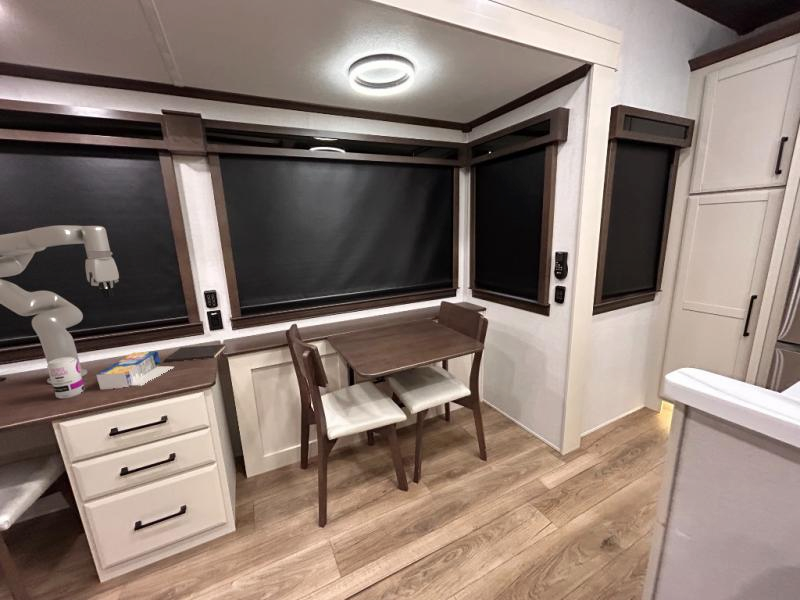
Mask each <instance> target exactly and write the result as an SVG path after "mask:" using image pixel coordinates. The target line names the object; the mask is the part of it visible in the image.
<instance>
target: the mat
mask: <svg viewBox="0 0 800 600" xmlns="http://www.w3.org/2000/svg"><path fill="white" fill-rule="evenodd" d="M174 368H175V366H170V365H169V366H167V365H166V366H164V365H163V366H160V365H159V366H157V367H156V368H154V369H153V370H151V371H150V372H148V373H147V374H145V375H144V376H142V377H141V378H140V379H138V380H137V381H135V382H134V383H132V384H131V385H130V387H142V385H143V386H145V385H146V384H147V382H148V381H150V380H151V381H153V380H155V379H157V378H158V377H160V376H162V375H163V373H164V374H165V373H167V372H169V371H170V369H171V370H173V369H174ZM168 370H169V371H168ZM161 374H162V375H161ZM156 377H157V378H156ZM154 378H155V379H154ZM152 379H153V380H152ZM151 381H150V382H151ZM145 383H146V384H145ZM148 383H149V382H148Z"/></svg>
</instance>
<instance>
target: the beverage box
mask: <svg viewBox="0 0 800 600" xmlns="http://www.w3.org/2000/svg"><path fill="white" fill-rule="evenodd" d="M160 359H161V358H160V355H159V351H157V350H156V351H141V352H140V351H139V352H132V353H131V354H128V355H127V356H125V357H124V358H122V359H121V360H118V361H117V362H115V363H113V364H112V365H110V366H108V367H107V368H105V369H104V370H102V371H101V372H98V373H97V374H96V379H97V382H98V385H99V389H100V390H112V389H113V388H115V389H124V388H123V387H128V388H130V387H131V386H130V385H131V384H132V383H134V382H135V381H137V380H138V379H140V378H141V377H142V376H144V375H145V374H147V373H148V372H150V371H151V370H153V369H154V368H156V367H157V366H160V365H161V364H162V363H161V360H160ZM129 386H130V387H129Z"/></svg>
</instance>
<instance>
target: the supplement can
mask: <svg viewBox="0 0 800 600" xmlns="http://www.w3.org/2000/svg"><path fill="white" fill-rule="evenodd" d="M46 367H47V371H49V374H48V375H49V378H51V381H52V384H51V385H52V387H53V391H54V394H55V398H57V399H62V400H63V399H69V398H73V397H75V396H78V395H80V394H82V393H83V392H84V391H85V390H86V388H85V384H84V381H83V378H82V377H83V376H82V377H81V373H80V370H79V366H78V363H77V360H76V359H75V358H74V357H63V358H58V359H55V360H52V361H50V362H49V364H48V363H47V366H46ZM81 392H82V393H81Z"/></svg>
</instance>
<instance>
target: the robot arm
mask: <svg viewBox="0 0 800 600" xmlns="http://www.w3.org/2000/svg"><path fill="white" fill-rule="evenodd" d="M108 239H109V238H108V234H107V230H106V228H105V227H104V226H101V225H61V224H60V225H59V224H58V225H50V226H44V227H43V226H42V227H35V228H33V229H30V230H24V231H18V232H13V233H6V234H4V233H3V234H0V304H1V305H2V306H4V307H6V308H7V309H9V310H10V311H12V312H14V313H16V315H19V316H23V317H29V316H33V317H32V319H31V326H32V329H33V330H34V332H35V333H36V334H37V336H38V338H39V341H40V343H41V347H42V349H43V353H44V357H45V359H46V362H47V365H48V364H49V362H50V361H52V360H55V359H58V358H63V357H74V358H75V359H76V360H77V363H78V366H79V370H80V373H81V377H84V376H86V375H87V374H88V370H87V369H85V368H82V366H81V363H80V358H79V355H78V352H77V347H76V344H75V341H74V338H73V336H72V335H71V333H70V332H69V331H67V329H68V328H71V327H73V326H76V325H78V324H79V323H81V322H82V320H83V318H84V315H83V312H82V311H81V310H80V308H78V307H77V306H75V305H74V303H71V302H70V301H68V300H67V299H65V298H64V297H62V296H60V295H59V294H57V293H55V292H53V291H49V290H37V291H27V290H25V289H23V288H22V287H20V286H18V285H17V284H15V283H13V282H10V281H8V280H5V279H1V278H5V277H6V278H7V277H12V276H13V277H14V276H16V275H19V274H21V273H22V272H23V271H24V270H25V269H26V268H27V266H28V265H29V263H30V261H31V260H32V259H33V257H34V254H36V253H37V252H41V251H44V250H45V249H47V248H48V247H49V248H50V247H56V246H63V245H76V244H77V245H78V244H79V245H80V244H84V249H85V252H86V256H87V258H86V259H85V263H84V264H85V273H86V274H85V275H86V279H87V282H88V283H90V285H91V286H92V287H93V286H95V287H99V289H101V291H102V297H103V298H106V299H107V298H113V297H114V292H113V288H114V285H115V284H116V283H119V281H120V280H119V279H120V275H119V274H120V273H119V271H118V267H117V264H116V261H115V259H114V258H113V257H112V255H113V252H112V251H111V248H110V244H109V243H110V242H109V240H108ZM34 315H35V316H34ZM44 373H45V375H49V371H48V370H47V371H45V372H44ZM46 382H47V384H51V385H52V381H51V378H50V377H48V378H47V380H46Z"/></svg>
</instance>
